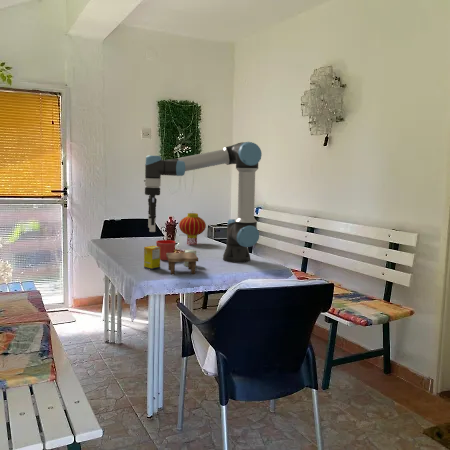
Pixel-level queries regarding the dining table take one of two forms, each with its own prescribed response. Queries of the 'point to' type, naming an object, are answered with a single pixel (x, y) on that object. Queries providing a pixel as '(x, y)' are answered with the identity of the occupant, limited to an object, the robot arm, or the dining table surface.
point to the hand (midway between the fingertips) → (151, 229)
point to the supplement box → (152, 257)
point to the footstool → (182, 260)
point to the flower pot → (165, 248)
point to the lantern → (192, 227)
